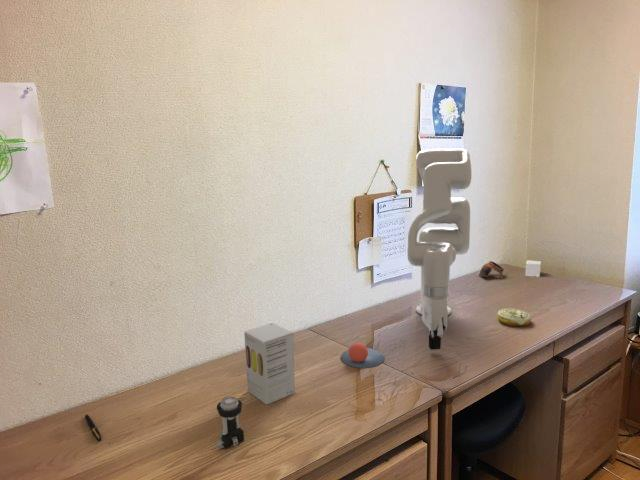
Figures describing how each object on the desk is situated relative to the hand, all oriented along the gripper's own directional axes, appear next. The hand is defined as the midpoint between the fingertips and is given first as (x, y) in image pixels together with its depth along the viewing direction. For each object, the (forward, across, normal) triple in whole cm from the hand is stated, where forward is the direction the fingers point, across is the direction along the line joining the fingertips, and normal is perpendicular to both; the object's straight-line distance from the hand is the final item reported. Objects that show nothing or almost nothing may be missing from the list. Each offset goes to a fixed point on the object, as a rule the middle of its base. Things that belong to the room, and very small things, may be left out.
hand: (434, 348), depth 146 cm
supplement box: (+2, +16, -49) cm, 52 cm away
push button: (+2, +37, -58) cm, 69 cm away
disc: (+2, 0, -22) cm, 22 cm away
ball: (-1, +2, -24) cm, 24 cm away
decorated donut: (+2, -20, +35) cm, 40 cm away
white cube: (+2, -73, +71) cm, 102 cm away
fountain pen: (+2, +26, -90) cm, 94 cm away
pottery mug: (+2, -72, +50) cm, 88 cm away
